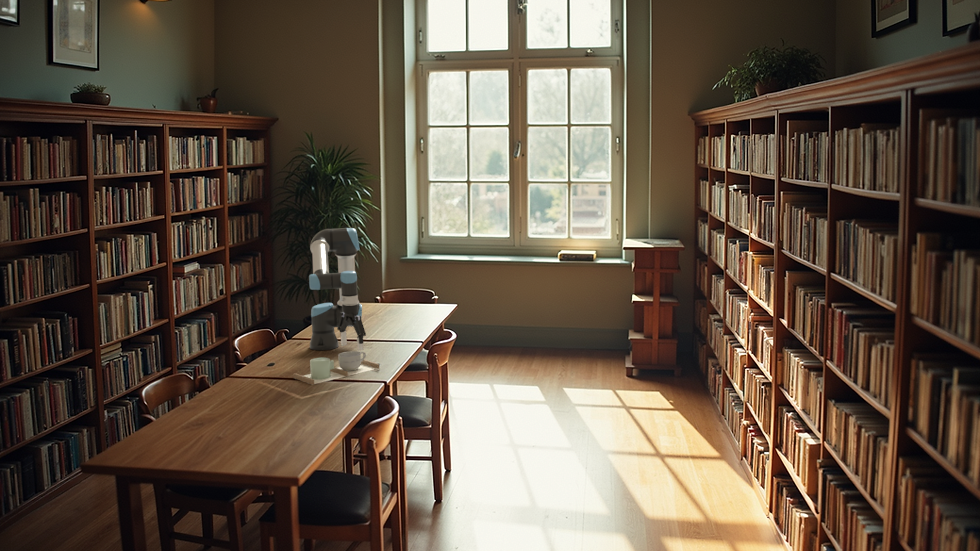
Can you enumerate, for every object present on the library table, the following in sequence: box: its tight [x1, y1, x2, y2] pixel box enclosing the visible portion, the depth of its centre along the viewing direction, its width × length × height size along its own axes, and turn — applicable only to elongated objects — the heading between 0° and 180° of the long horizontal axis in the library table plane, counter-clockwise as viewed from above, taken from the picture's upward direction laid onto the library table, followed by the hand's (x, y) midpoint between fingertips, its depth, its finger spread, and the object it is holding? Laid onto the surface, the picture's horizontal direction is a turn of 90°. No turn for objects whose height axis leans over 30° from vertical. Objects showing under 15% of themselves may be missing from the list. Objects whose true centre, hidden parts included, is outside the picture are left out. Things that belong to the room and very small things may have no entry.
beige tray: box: [293, 359, 381, 386], centre depth 393 cm, size 16×37×3 cm, turn 134°
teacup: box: [337, 350, 367, 371], centre depth 399 cm, size 14×11×8 cm
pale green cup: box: [309, 357, 335, 380], centre depth 387 cm, size 9×12×8 cm
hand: (352, 347), depth 398 cm, fingers open, 13 cm apart
